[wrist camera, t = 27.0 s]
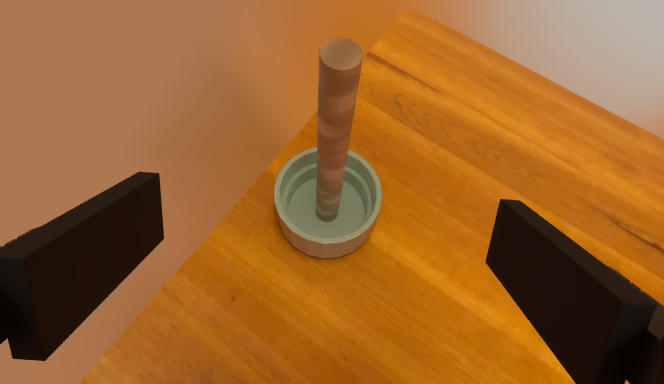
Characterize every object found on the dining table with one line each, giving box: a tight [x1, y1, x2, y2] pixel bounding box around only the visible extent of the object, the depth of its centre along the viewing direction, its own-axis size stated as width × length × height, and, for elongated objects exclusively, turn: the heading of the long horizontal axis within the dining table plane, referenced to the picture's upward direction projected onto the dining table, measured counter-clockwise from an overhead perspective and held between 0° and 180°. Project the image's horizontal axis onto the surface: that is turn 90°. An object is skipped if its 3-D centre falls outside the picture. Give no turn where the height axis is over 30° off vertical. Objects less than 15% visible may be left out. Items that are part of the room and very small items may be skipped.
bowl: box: [274, 147, 382, 258], centre depth 42 cm, size 11×11×6 cm
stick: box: [316, 38, 363, 222], centre depth 33 cm, size 3×3×24 cm
